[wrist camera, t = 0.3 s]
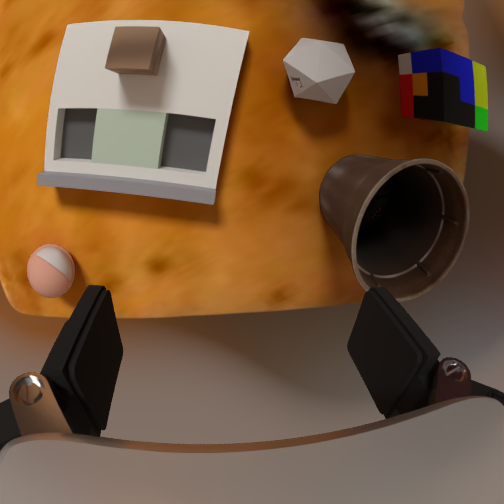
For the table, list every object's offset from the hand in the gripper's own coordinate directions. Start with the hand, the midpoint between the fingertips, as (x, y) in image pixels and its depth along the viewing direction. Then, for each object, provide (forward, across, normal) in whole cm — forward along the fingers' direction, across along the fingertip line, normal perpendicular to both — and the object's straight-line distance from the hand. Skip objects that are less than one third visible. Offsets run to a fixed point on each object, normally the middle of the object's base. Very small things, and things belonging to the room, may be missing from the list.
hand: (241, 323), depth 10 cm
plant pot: (+30, -20, +2) cm, 36 cm away
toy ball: (+30, +25, +14) cm, 42 cm away
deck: (+30, +11, -9) cm, 33 cm away
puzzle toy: (+31, -30, -17) cm, 46 cm away
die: (+30, -11, -14) cm, 35 cm away
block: (+28, +10, -15) cm, 33 cm away
